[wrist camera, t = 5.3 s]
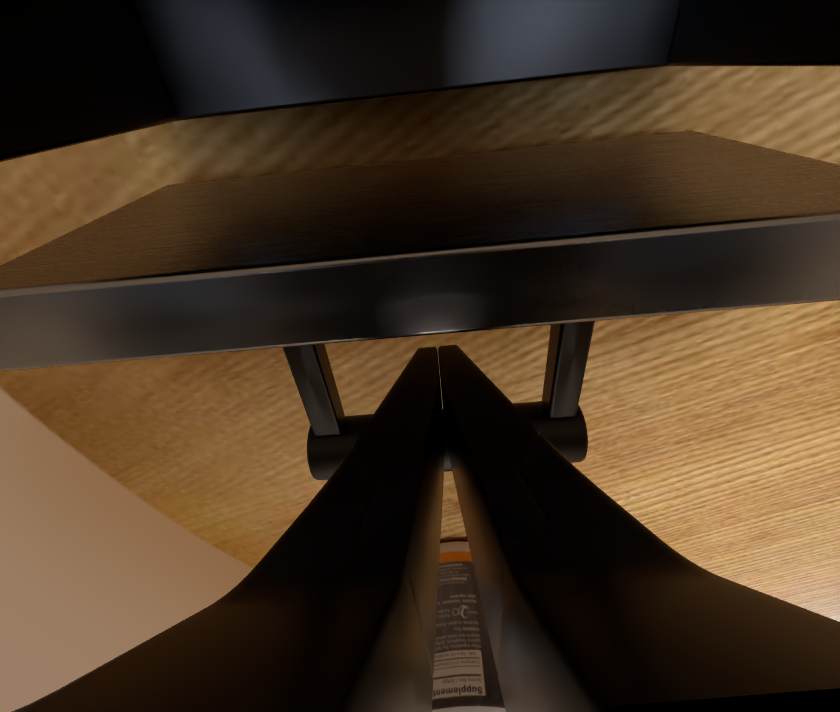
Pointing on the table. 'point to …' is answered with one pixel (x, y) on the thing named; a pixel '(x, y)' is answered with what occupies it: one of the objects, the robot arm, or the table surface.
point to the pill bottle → (462, 639)
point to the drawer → (403, 188)
